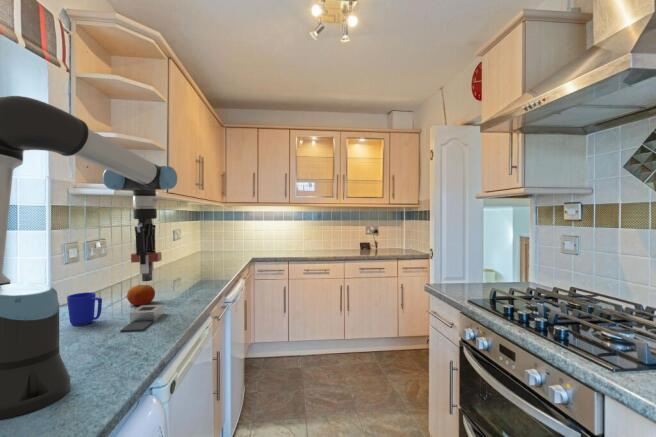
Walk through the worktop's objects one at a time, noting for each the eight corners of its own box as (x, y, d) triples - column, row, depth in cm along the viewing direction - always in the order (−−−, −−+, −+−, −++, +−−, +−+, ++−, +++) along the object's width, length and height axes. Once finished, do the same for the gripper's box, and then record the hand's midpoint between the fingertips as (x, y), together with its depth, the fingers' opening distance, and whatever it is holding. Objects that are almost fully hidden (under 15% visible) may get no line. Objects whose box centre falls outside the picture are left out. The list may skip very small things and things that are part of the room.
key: (158, 280, 126) (157, 253, 126) (131, 281, 125) (131, 254, 125) (162, 278, 130) (161, 252, 130) (136, 279, 129) (135, 252, 129)
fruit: (126, 303, 149) (126, 285, 148) (153, 300, 154) (153, 282, 154) (128, 309, 140) (127, 289, 139) (156, 305, 145) (156, 286, 145)
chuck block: (153, 321, 123) (153, 312, 123) (129, 323, 122) (129, 313, 122) (163, 313, 133) (163, 304, 133) (141, 314, 132) (141, 305, 132)
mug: (91, 328, 117) (90, 298, 117) (61, 326, 119) (60, 297, 119) (111, 320, 125) (110, 293, 125) (82, 319, 127) (82, 291, 127)
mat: (143, 330, 114) (143, 329, 114) (120, 332, 113) (120, 330, 113) (153, 322, 123) (153, 320, 122) (132, 323, 122) (132, 321, 122)
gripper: (146, 207, 119) (148, 276, 119) (163, 208, 136) (165, 267, 136) (123, 208, 118) (125, 276, 118) (143, 208, 135) (145, 268, 135)
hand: (146, 271), depth 127 cm, fingers closed on key, 4 cm apart
